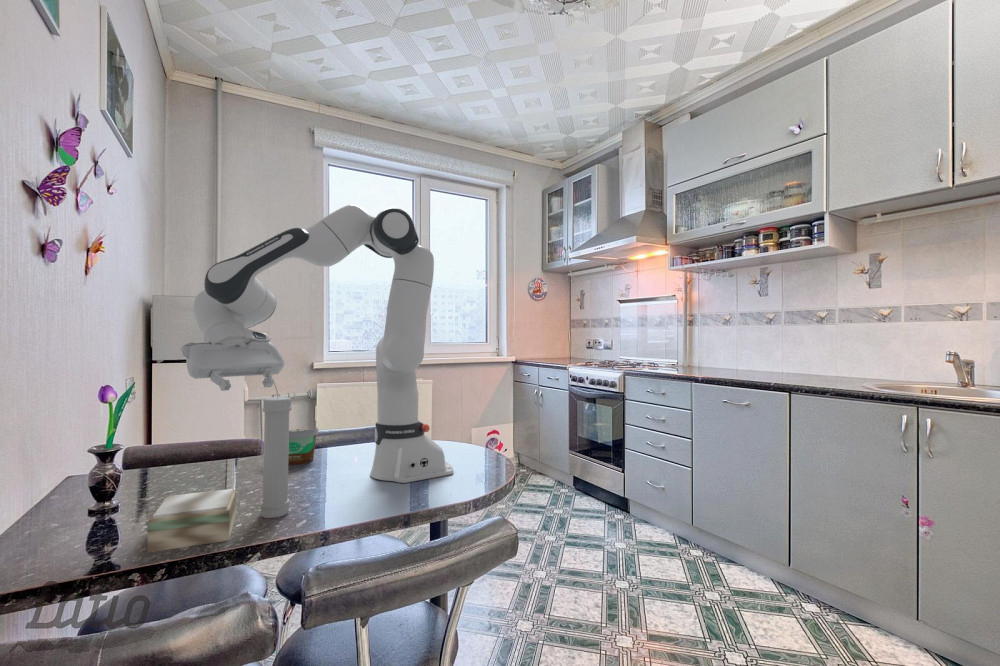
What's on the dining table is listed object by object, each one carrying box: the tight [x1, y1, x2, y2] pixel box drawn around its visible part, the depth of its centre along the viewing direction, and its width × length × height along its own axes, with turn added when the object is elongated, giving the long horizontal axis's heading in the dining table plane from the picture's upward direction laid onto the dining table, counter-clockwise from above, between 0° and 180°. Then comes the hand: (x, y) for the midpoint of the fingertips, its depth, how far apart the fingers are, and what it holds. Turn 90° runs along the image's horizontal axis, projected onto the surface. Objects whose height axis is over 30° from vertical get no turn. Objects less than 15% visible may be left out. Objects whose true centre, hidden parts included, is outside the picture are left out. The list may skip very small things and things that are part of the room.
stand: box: [147, 488, 237, 553], centre depth 86 cm, size 12×12×6 cm
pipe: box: [259, 371, 292, 519], centre depth 96 cm, size 6×6×30 cm
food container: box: [288, 426, 320, 466], centre depth 135 cm, size 12×6×10 cm, turn 114°
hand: (248, 387), depth 103 cm, fingers open, 8 cm apart
